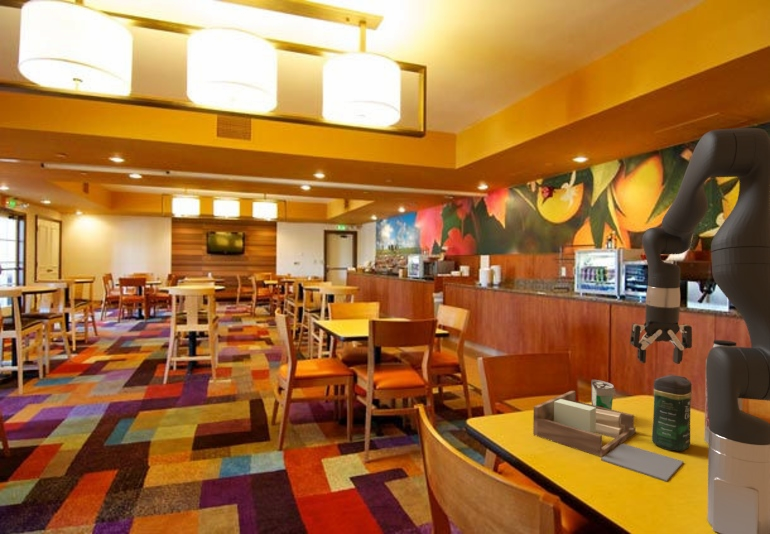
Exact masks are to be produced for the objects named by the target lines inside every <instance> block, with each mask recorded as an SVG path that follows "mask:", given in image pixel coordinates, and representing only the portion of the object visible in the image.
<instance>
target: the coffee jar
mask: <svg viewBox="0 0 770 534" xmlns="http://www.w3.org/2000/svg"><path fill="white" fill-rule="evenodd" d="M692 385H693V384H692V382H691V381H690V380H689V379H688V378H687V377H685V376H682V375H676V374H669V375H665V376H661V377H658V378H655V379H654V382H653V416H652V417H653V419H652V431H651V433H652V435H651V441H652V443H653V444H655V445H657V446H658V447H660V448H662V449H664V450H669V451H670V450H671V451H677V452H682V451H684V450H687V449H689V447H690V445H691V410H692V409H691V406H692V405H691V404H692V394H693V393H692Z"/></svg>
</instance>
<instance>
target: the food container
mask: <svg viewBox="0 0 770 534" xmlns="http://www.w3.org/2000/svg"><path fill="white" fill-rule="evenodd" d="M614 395H616V389H615V387H614V384H612V383H610V382H607V381H603V380H599V379H598V380H597V379H591V405H595V406H599V407H603V408H607V409H611V410H613V409H612V408H613V399H614Z"/></svg>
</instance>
